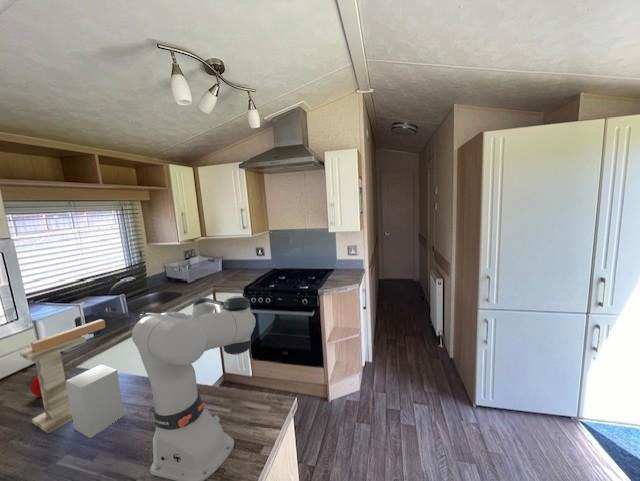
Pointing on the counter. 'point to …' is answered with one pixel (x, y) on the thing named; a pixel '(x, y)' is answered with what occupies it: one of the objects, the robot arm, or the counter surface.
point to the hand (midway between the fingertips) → (147, 317)
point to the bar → (67, 335)
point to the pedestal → (95, 399)
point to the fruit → (36, 387)
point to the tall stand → (52, 385)
